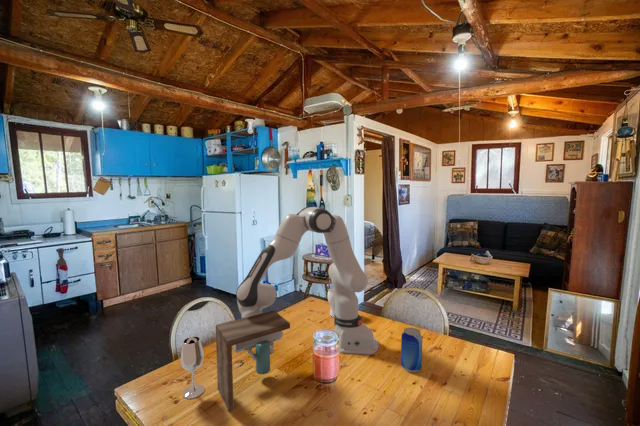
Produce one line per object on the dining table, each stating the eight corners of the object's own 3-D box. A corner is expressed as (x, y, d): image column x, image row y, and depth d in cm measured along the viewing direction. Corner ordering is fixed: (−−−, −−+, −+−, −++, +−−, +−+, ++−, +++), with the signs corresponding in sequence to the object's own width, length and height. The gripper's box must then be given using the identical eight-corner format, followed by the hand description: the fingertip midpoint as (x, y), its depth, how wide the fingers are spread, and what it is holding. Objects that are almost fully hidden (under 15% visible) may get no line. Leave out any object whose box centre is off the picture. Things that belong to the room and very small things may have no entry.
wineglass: (196, 400, 105) (194, 346, 104) (177, 397, 107) (174, 344, 105) (209, 386, 113) (207, 336, 111) (190, 383, 114) (188, 334, 113)
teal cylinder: (272, 367, 120) (272, 341, 119) (266, 375, 114) (266, 348, 114) (260, 364, 121) (259, 339, 120) (253, 372, 116) (253, 346, 115)
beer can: (397, 367, 125) (398, 331, 123) (406, 359, 131) (407, 324, 129) (416, 376, 119) (417, 338, 118) (425, 367, 125) (426, 330, 124)
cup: (328, 310, 183) (328, 287, 181) (345, 311, 181) (345, 287, 180) (326, 318, 172) (326, 293, 171) (344, 319, 171) (344, 294, 169)
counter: (217, 388, 111) (215, 324, 109) (274, 367, 125) (273, 310, 122) (228, 412, 100) (227, 341, 98) (290, 386, 113) (289, 323, 111)
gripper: (230, 326, 116) (239, 362, 109) (278, 314, 128) (288, 346, 120) (227, 332, 120) (235, 367, 113) (273, 320, 132) (283, 351, 124)
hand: (263, 356), depth 117 cm, fingers closed on teal cylinder, 6 cm apart
